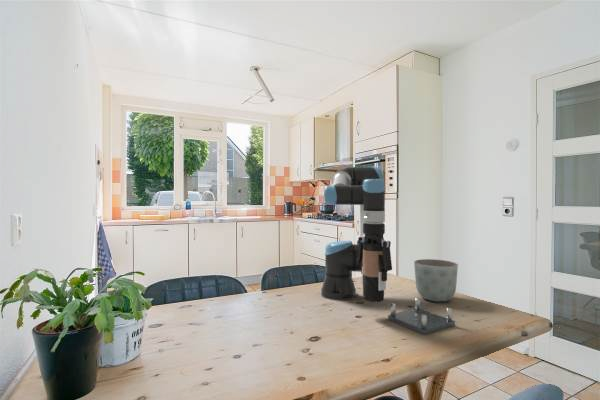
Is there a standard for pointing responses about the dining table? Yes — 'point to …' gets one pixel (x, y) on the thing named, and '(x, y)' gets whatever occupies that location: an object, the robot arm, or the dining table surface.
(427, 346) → the dining table surface
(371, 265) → the travel mug
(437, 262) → the planter
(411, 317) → the stand
